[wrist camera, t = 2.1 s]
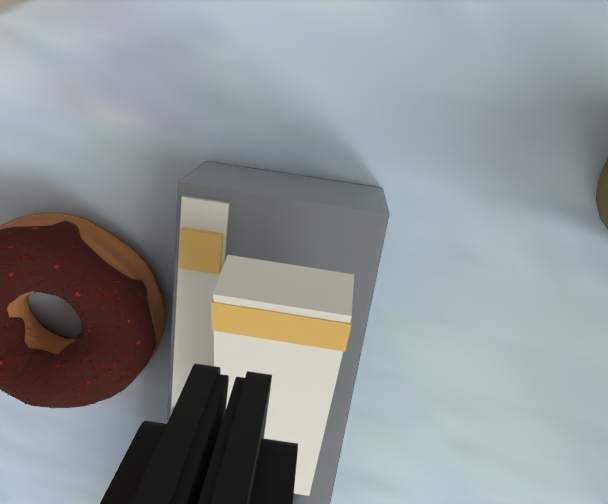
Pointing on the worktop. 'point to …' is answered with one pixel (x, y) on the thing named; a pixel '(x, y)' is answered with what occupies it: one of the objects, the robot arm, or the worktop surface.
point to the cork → (603, 195)
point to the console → (276, 248)
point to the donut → (86, 302)
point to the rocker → (285, 344)
